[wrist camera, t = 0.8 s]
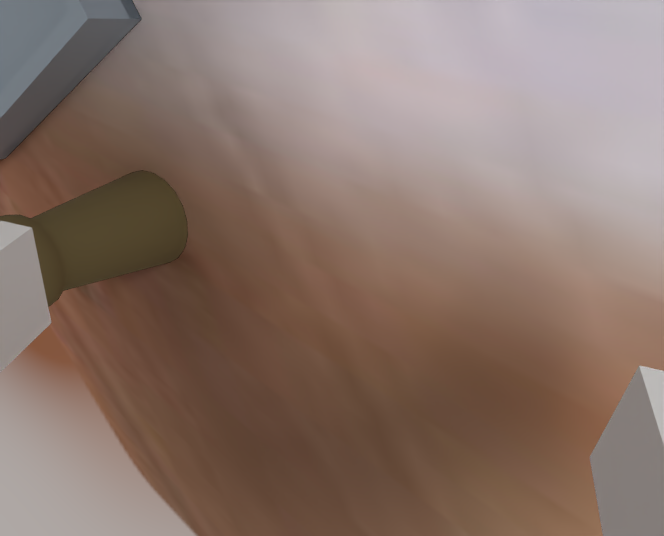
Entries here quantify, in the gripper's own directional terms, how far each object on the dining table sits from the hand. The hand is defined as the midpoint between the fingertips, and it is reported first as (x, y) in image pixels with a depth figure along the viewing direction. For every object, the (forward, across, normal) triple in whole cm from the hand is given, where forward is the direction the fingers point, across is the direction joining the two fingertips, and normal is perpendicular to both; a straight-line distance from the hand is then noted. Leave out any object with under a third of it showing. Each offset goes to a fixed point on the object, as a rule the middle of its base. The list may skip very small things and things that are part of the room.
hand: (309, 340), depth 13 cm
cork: (+20, -15, -11) cm, 27 cm away
